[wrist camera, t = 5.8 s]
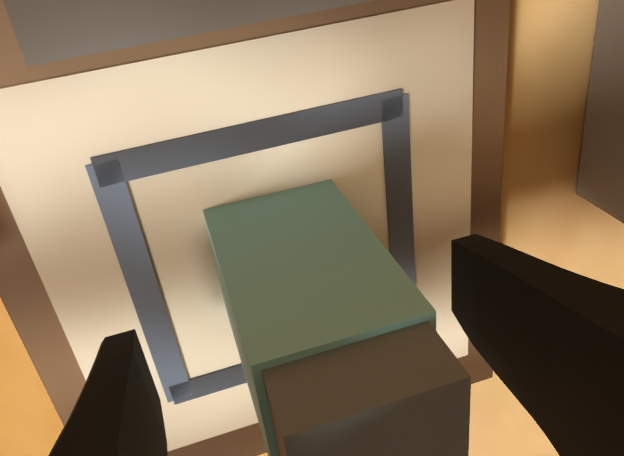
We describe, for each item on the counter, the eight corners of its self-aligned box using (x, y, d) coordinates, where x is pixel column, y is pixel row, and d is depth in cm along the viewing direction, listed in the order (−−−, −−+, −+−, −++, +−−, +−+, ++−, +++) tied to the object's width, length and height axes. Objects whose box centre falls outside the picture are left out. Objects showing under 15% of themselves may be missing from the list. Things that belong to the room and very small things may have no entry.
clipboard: (483, 365, 21) (509, 397, 19) (103, 489, 18) (103, 536, 17) (501, -137, 13) (546, -141, 12) (-152, -39, 10) (-190, -31, 9)
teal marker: (341, 283, 16) (474, 500, 10) (227, 315, 16) (299, 565, 10) (330, 178, 15) (480, 365, 9) (202, 209, 14) (271, 433, 8)
